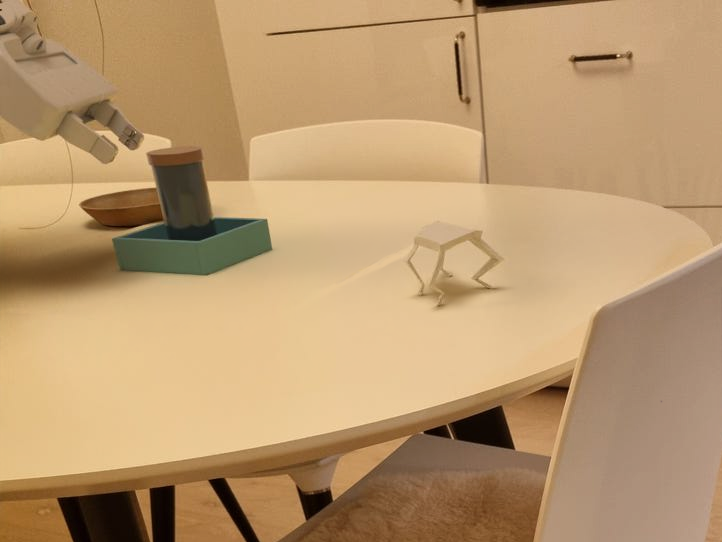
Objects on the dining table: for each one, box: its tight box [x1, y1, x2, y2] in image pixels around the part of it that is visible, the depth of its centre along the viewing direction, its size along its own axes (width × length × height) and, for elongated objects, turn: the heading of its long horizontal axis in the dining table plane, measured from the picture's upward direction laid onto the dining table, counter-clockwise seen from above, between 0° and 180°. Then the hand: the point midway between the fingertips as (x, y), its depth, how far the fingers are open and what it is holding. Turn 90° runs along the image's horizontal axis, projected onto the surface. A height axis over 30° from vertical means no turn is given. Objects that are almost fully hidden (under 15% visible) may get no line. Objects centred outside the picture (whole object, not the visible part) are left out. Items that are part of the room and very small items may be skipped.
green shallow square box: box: [111, 216, 273, 276], centre depth 98 cm, size 11×11×4 cm
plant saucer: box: [78, 187, 163, 227], centre depth 122 cm, size 15×15×3 cm
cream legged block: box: [404, 220, 505, 306], centre depth 84 cm, size 12×8×5 cm
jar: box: [146, 145, 217, 241], centre depth 96 cm, size 5×5×10 cm
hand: (127, 150), depth 93 cm, fingers open, 8 cm apart
